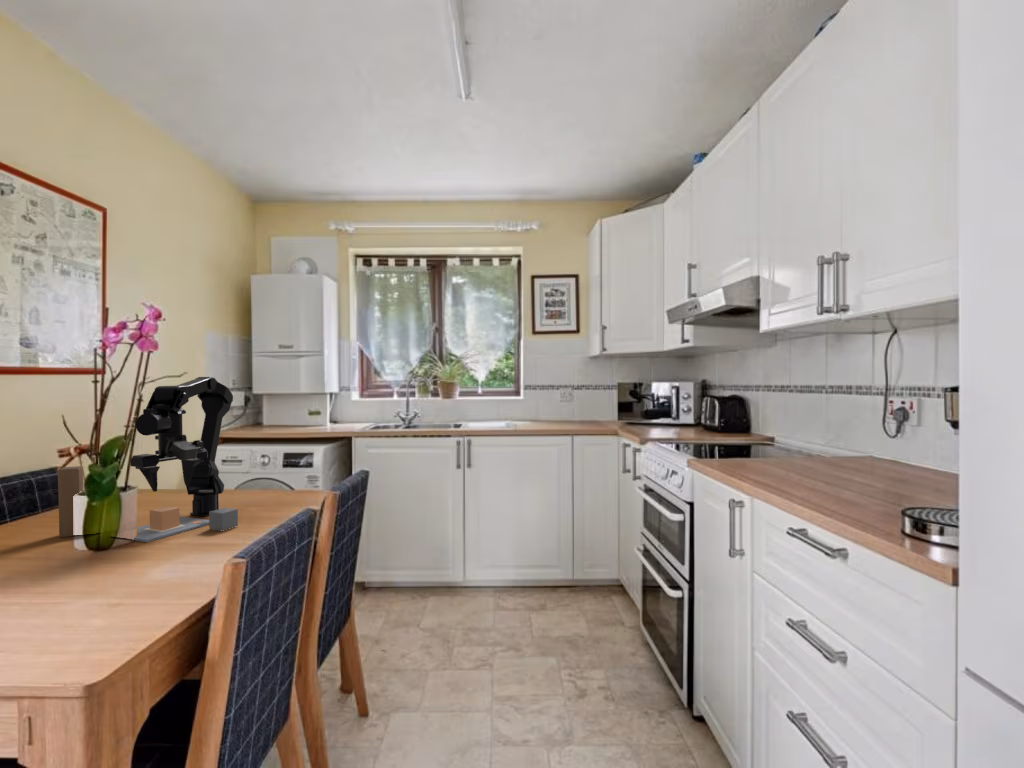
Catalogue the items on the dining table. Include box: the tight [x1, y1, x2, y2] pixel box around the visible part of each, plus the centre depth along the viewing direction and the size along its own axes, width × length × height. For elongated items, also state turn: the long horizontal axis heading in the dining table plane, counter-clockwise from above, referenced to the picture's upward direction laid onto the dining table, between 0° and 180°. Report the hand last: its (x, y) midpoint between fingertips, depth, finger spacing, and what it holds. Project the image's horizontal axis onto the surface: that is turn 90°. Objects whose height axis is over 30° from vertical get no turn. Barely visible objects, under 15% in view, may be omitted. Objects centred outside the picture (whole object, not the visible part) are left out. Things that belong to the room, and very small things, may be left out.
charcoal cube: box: [208, 507, 239, 532], centre depth 156 cm, size 5×5×5 cm
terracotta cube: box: [149, 505, 180, 530], centre depth 155 cm, size 5×5×5 cm
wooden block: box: [57, 465, 84, 539], centre depth 151 cm, size 9×4×18 cm, turn 115°
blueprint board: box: [133, 515, 209, 543], centre depth 155 cm, size 20×14×1 cm
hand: (171, 488), depth 155 cm, fingers open, 9 cm apart
